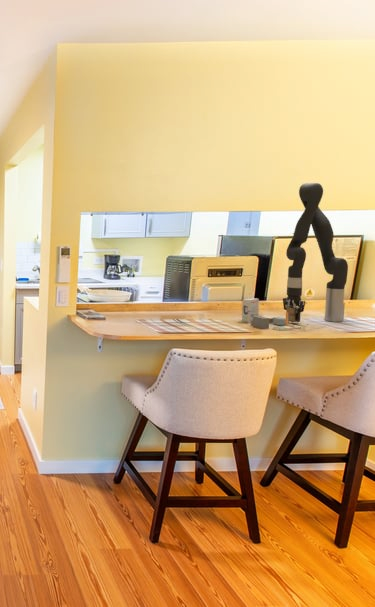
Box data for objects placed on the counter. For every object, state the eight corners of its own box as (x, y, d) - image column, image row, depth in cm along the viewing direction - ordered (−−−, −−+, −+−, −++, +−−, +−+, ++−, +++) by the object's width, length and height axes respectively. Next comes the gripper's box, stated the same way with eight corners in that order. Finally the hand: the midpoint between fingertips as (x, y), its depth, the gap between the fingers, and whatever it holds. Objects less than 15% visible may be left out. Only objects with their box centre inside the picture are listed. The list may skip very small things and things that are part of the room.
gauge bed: (275, 322, 298) (276, 312, 298) (301, 327, 284) (302, 317, 283) (248, 325, 288) (249, 315, 287) (274, 331, 273) (274, 320, 272)
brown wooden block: (292, 320, 299) (293, 306, 298) (300, 321, 295) (300, 307, 294) (285, 320, 296) (286, 307, 295) (293, 322, 292) (293, 308, 291)
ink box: (249, 323, 294) (250, 300, 292) (241, 321, 297) (242, 299, 295) (258, 321, 300) (259, 298, 299) (250, 320, 303) (251, 297, 302)
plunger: (278, 322, 294) (279, 309, 293) (298, 327, 284) (298, 313, 283) (272, 323, 292) (273, 309, 291) (292, 328, 281) (293, 313, 280)
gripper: (310, 287, 289) (308, 321, 292) (289, 284, 301) (288, 316, 303) (299, 288, 285) (298, 322, 287) (279, 285, 296) (277, 318, 299)
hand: (293, 319), depth 295 cm, fingers closed on brown wooden block, 5 cm apart
